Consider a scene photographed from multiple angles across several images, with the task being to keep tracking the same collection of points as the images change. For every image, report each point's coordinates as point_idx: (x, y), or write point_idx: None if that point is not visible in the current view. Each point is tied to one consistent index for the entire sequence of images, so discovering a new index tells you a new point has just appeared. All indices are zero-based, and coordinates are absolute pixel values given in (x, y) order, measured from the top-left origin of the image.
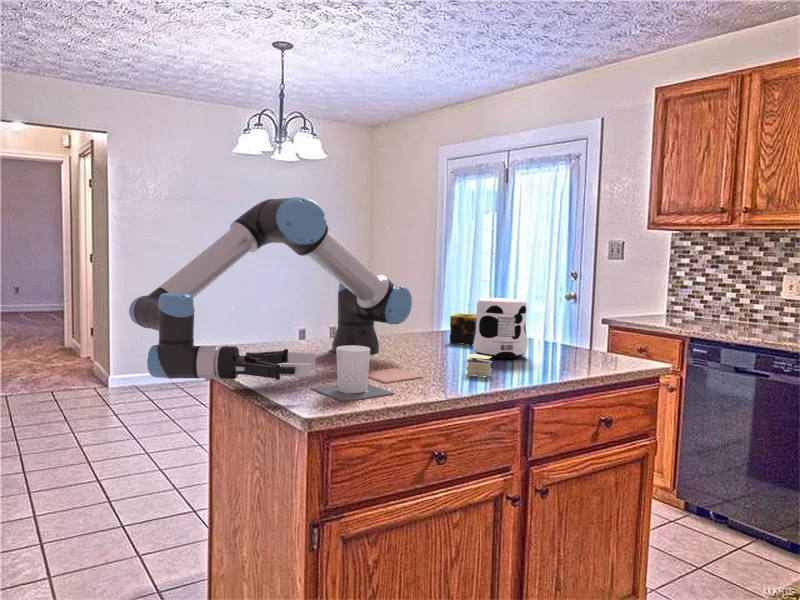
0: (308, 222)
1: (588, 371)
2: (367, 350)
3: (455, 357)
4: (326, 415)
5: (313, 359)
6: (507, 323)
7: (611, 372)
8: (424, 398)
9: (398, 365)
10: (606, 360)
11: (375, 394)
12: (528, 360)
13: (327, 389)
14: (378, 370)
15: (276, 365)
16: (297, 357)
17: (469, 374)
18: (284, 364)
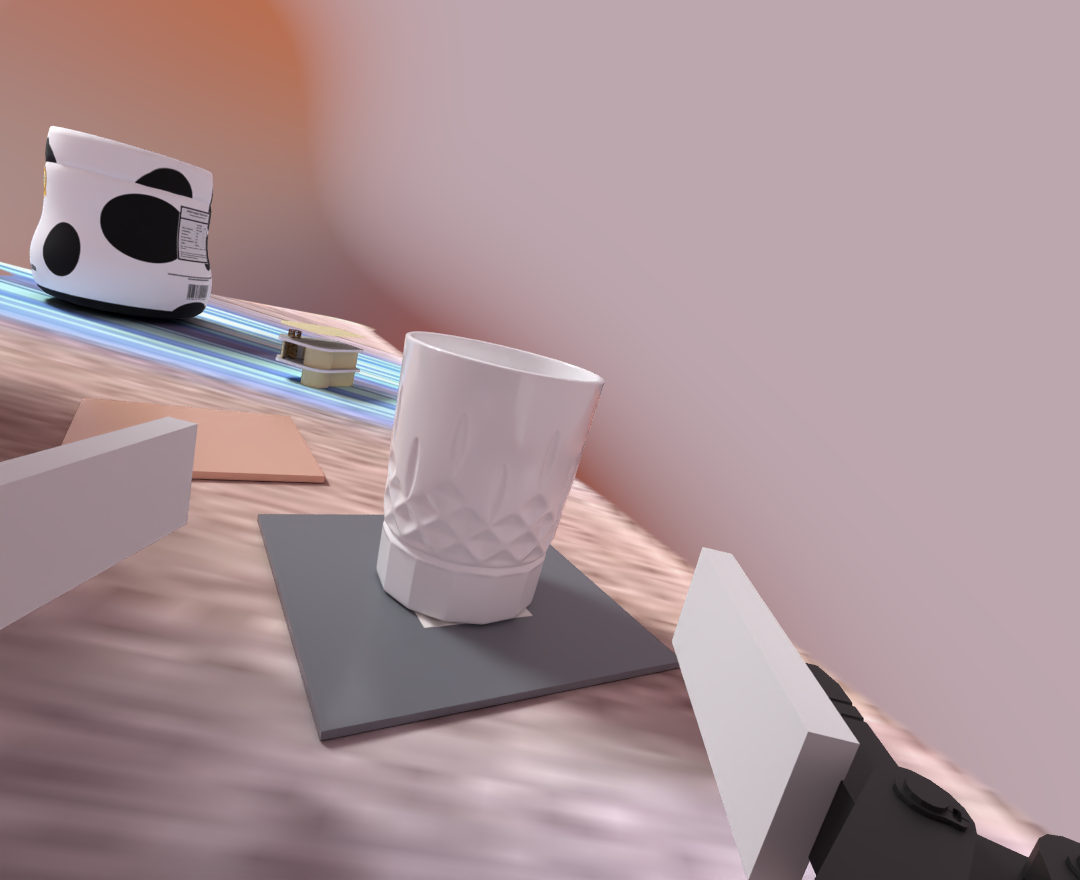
0: None
1: (359, 343)
2: (562, 363)
3: (44, 319)
4: (977, 789)
5: (183, 484)
6: (198, 227)
7: (378, 342)
8: (569, 498)
9: (5, 377)
10: (286, 315)
11: None
12: (212, 321)
13: (403, 658)
14: (72, 424)
15: (967, 816)
16: (50, 525)
17: (319, 383)
18: (830, 711)
